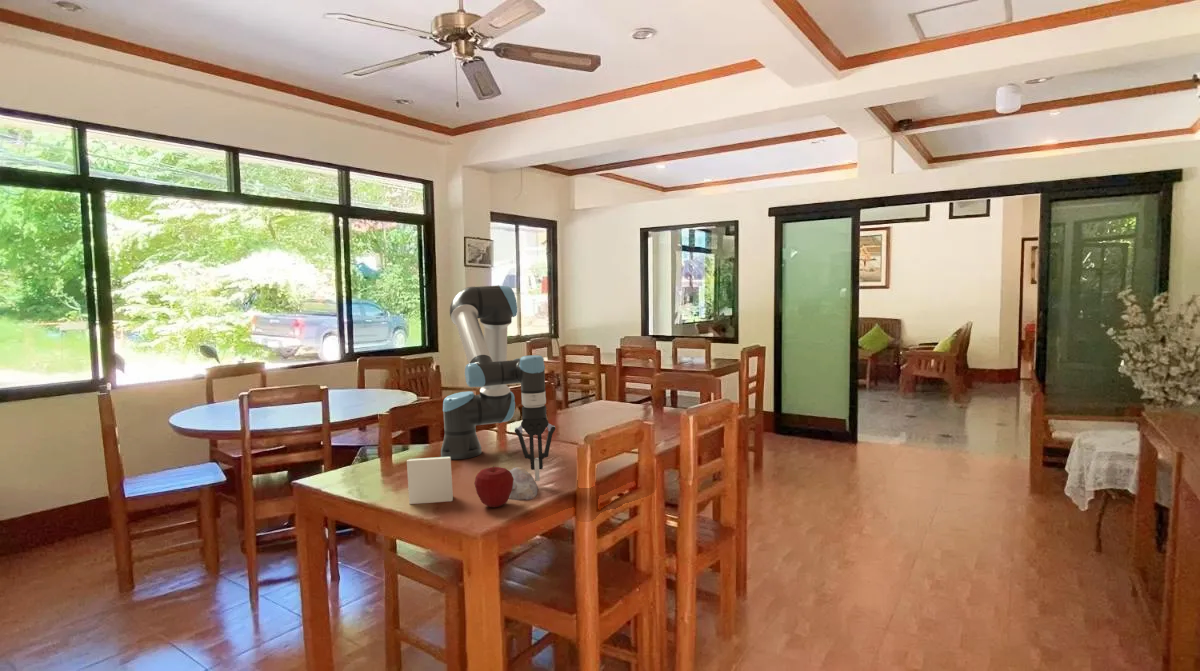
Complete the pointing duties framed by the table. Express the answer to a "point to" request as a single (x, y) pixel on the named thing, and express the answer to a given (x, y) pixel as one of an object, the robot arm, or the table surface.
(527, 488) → the stone
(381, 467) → the table surface
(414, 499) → the wall
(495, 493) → the apple
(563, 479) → the table surface
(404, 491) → the table surface
